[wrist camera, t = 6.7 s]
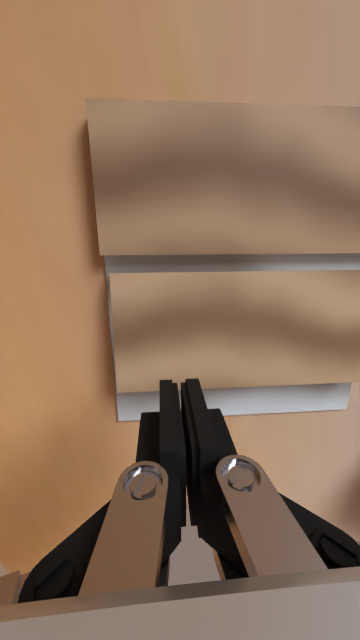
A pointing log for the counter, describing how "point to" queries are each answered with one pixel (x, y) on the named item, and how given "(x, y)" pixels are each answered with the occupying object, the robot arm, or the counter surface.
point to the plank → (235, 328)
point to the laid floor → (226, 207)
